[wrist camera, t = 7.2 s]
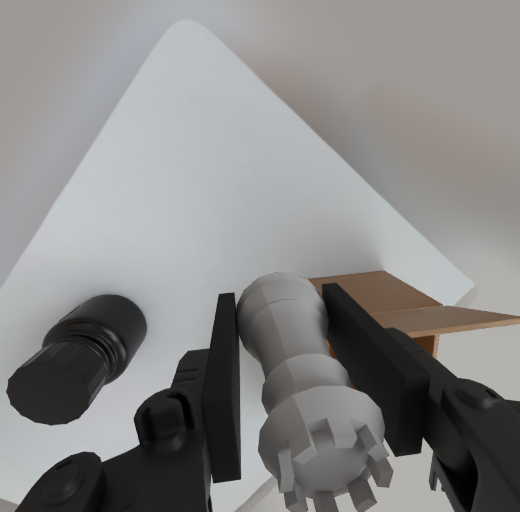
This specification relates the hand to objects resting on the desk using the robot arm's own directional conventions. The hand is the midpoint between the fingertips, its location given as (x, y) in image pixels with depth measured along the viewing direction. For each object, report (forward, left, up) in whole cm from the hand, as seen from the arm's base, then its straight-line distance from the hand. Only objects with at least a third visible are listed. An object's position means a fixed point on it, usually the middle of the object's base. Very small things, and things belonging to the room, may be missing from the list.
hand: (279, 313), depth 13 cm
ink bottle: (+15, -16, -20) cm, 30 cm away
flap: (+2, +13, -6) cm, 14 cm away
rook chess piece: (0, 0, 0) cm, 0 cm away
